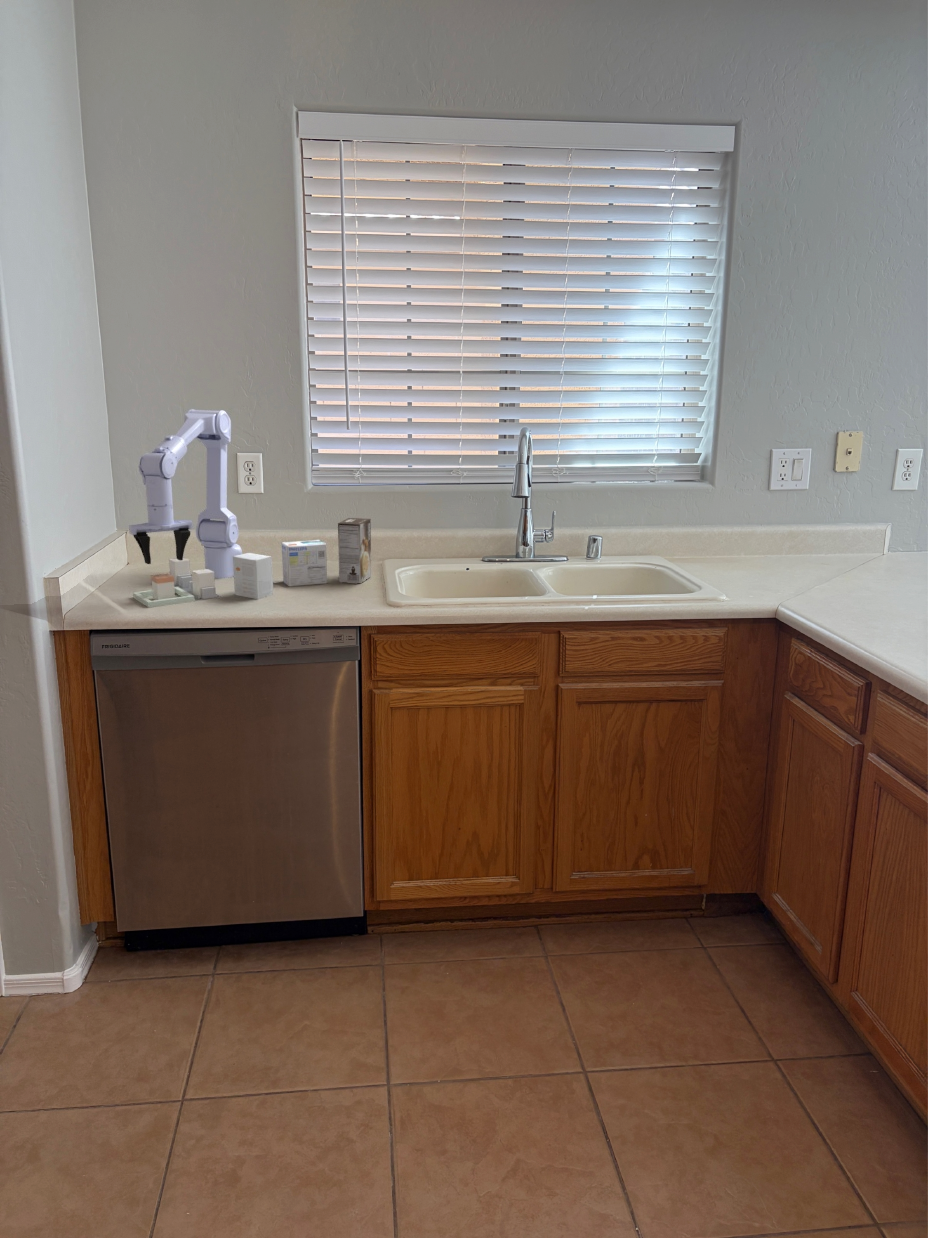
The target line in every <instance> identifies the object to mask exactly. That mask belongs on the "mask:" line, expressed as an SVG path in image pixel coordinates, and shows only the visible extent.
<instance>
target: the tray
mask: <svg viewBox="0 0 928 1238" xmlns="http://www.w3.org/2000/svg"><path fill="white" fill-rule="evenodd" d="M174 590H175V594H177V595H178V596H175V598H169V599H161V600H154V599H153V600H150V599H149V598H147V597H153V593H152V589H149V590H144V591H143V590H142V591H134V592H132V598H133V599H135V600H137V601H138V602H139V603H141V604H142V605H144V606H146V607H147V608H154V607H155V608H156V607H163V606H169V605H176V604H177V605H179V604H184V603H192V602H195V600H196V599H195V598H194V596H193V595H191V594H190V593H188V592H186V591H184V590H183V589H181V588H179V587H174Z"/></svg>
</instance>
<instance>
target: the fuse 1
mask: <svg viewBox="0 0 928 1238" xmlns="http://www.w3.org/2000/svg"><path fill="white" fill-rule="evenodd" d="M168 564H169V565H168V566H169V567H168V568H169V574H170V575H172V576H173V577H174V584H175V585H178V579H177V575H185V574H191V575H192V570H191V560H190V559H188V558H186V557H184V556H183V560H178V559H177V557H176V558H168Z"/></svg>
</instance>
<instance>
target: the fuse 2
mask: <svg viewBox="0 0 928 1238" xmlns="http://www.w3.org/2000/svg"><path fill="white" fill-rule="evenodd" d="M191 576H192V579H193V595H195V596H197V597H198V598H202V595H201V588H206V587H215V588H216V579H215V578H214V572H213V571H211V570H209V569H205V568H204V569H196V570H191Z"/></svg>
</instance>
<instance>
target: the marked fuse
mask: <svg viewBox="0 0 928 1238" xmlns="http://www.w3.org/2000/svg"><path fill="white" fill-rule="evenodd" d="M150 580H151V590H152V593H153V596H152V599H153V601H154V600H161V599H169V598H176V595H175V594H176V593H175V590H174V577H173V576H172V575H170V573H168V572H167V573H161V574H159V573H158V574H152V575H150Z"/></svg>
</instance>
